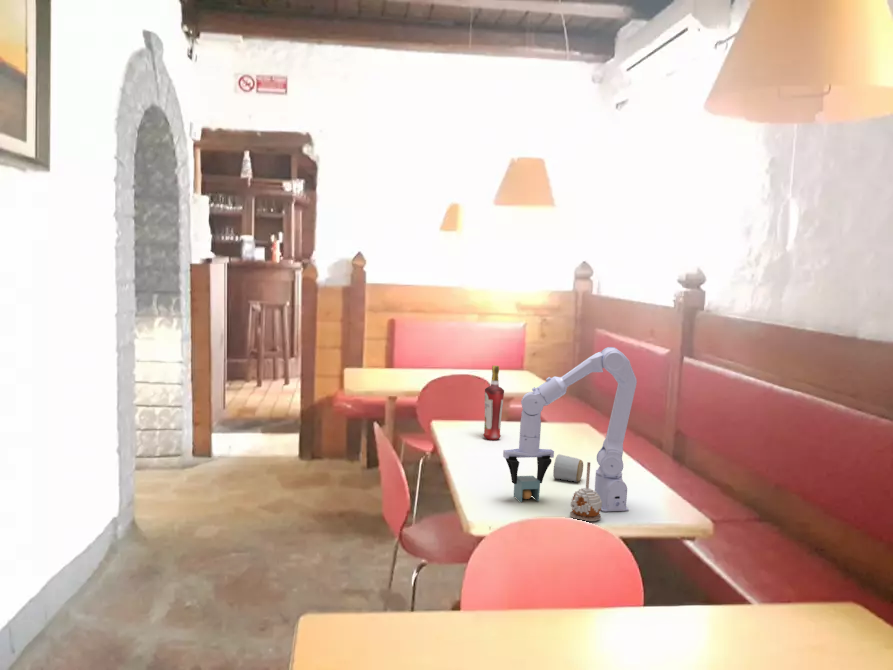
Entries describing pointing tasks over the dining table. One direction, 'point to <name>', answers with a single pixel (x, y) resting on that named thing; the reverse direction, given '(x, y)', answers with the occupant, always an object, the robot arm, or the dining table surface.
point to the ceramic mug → (568, 468)
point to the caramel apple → (586, 502)
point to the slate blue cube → (527, 486)
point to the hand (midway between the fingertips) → (526, 482)
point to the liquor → (493, 407)
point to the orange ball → (526, 494)
